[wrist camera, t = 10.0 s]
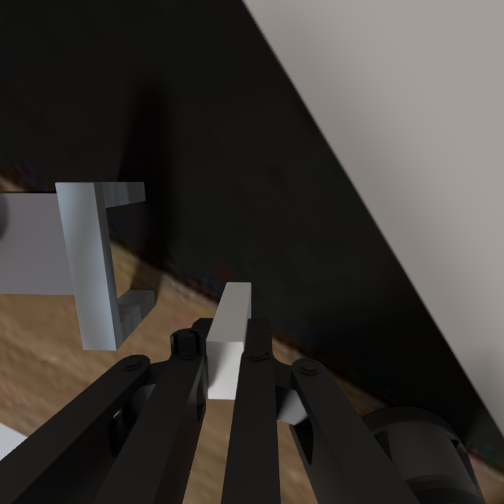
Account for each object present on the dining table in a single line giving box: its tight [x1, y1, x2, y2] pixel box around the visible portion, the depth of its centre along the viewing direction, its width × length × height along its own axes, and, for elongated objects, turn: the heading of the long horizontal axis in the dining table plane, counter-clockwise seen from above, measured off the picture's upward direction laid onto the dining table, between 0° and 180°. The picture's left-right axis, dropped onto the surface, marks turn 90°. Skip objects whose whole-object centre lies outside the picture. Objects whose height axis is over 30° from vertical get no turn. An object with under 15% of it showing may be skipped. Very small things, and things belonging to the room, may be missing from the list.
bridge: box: [55, 182, 155, 351], centre depth 28 cm, size 3×14×9 cm, turn 0°
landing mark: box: [0, 193, 74, 295], centre depth 32 cm, size 12×12×1 cm
